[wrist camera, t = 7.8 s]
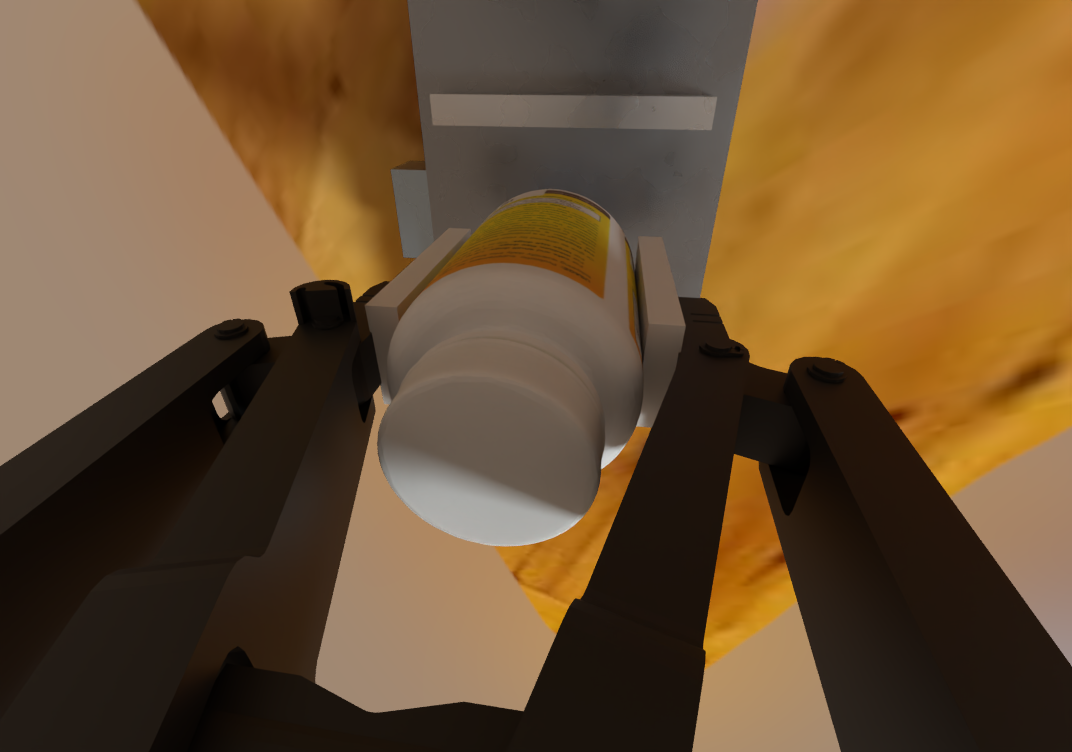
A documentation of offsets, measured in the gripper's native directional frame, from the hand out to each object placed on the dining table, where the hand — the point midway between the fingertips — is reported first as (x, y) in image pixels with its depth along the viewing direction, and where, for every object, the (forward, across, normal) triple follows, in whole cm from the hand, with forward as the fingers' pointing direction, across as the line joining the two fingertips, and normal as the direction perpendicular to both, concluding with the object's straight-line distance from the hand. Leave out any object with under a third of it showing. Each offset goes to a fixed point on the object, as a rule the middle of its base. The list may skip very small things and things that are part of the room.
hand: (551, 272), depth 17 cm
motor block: (+10, -1, -2) cm, 10 cm away
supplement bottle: (+1, 0, 0) cm, 1 cm away
